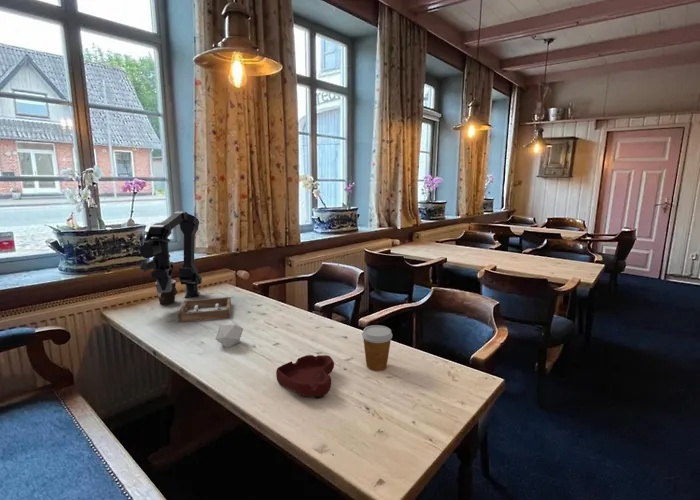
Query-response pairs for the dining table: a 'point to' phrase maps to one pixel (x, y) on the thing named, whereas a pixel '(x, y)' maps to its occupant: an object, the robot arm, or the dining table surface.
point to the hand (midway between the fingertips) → (164, 288)
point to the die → (229, 333)
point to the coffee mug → (167, 295)
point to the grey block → (168, 287)
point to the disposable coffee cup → (376, 346)
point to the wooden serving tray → (204, 314)
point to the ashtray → (307, 375)
